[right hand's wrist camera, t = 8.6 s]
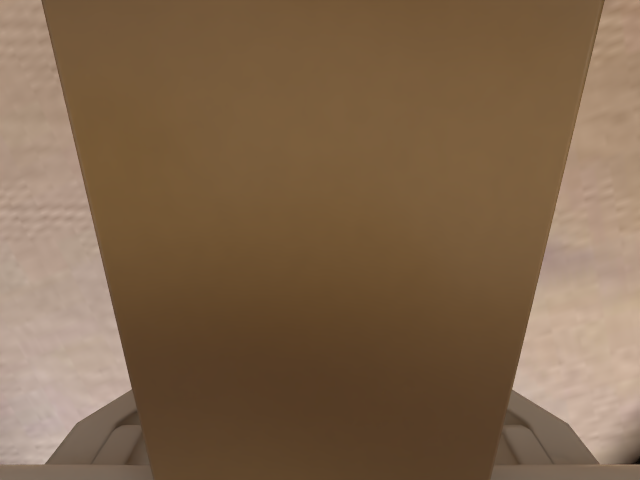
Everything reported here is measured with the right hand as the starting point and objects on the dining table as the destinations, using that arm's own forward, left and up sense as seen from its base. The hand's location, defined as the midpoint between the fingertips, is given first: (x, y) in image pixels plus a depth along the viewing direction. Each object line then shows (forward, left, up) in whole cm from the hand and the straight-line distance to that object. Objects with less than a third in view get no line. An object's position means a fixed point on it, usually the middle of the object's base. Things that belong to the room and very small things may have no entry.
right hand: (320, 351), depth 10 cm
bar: (+4, +7, -4) cm, 9 cm away
